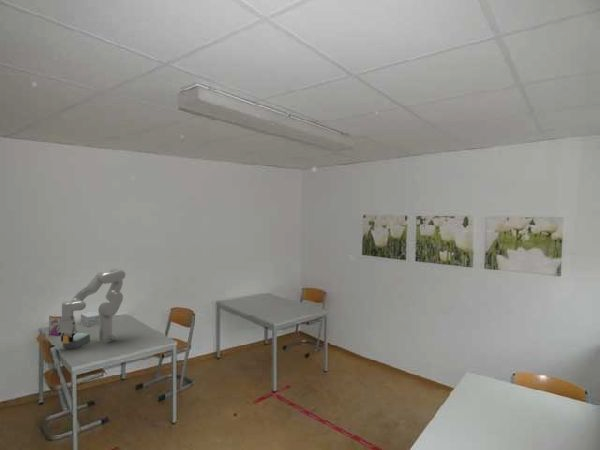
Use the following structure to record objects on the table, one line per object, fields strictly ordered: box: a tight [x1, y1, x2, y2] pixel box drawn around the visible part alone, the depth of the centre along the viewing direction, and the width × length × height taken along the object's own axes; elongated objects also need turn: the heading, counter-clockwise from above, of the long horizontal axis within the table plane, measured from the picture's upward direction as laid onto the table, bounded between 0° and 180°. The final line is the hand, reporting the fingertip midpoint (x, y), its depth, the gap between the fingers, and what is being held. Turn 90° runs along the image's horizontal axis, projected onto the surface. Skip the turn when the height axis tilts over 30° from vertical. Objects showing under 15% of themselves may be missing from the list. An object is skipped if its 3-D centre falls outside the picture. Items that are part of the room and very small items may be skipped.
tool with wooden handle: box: [62, 332, 90, 344], centre depth 280 cm, size 21×10×7 cm, turn 177°
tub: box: [62, 333, 91, 349], centre depth 283 cm, size 16×11×6 cm
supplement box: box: [80, 310, 99, 328], centre depth 336 cm, size 17×13×9 cm
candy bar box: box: [48, 314, 62, 336], centre depth 305 cm, size 11×5×16 cm, turn 84°
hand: (67, 341), depth 272 cm, fingers open, 5 cm apart
